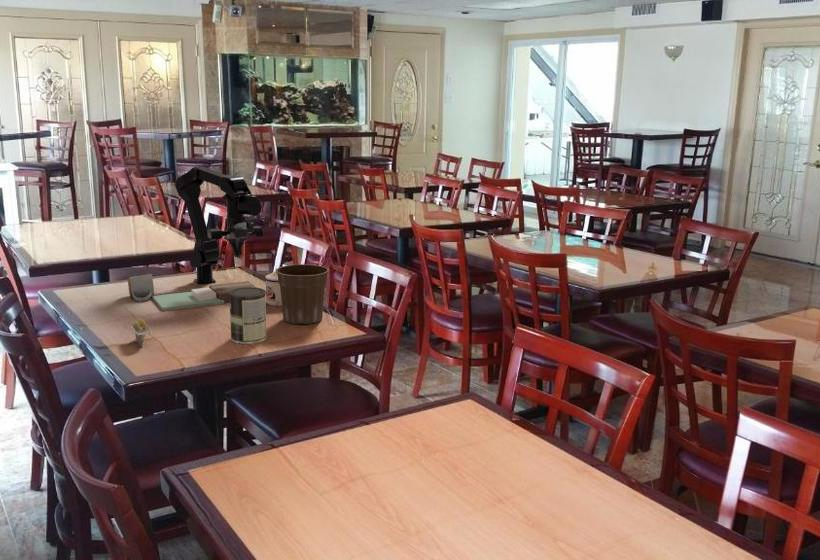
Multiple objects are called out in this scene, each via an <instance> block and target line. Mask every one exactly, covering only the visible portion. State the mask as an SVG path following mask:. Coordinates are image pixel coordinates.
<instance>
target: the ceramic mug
mask: <svg viewBox="0 0 820 560" xmlns="http://www.w3.org/2000/svg"><path fill="white" fill-rule="evenodd" d="M153 280H154V279H153V274H152V273H148V274H141V275H133V276H131V277H127V286H128V293H129V297H131V298H133V299H134V300H135V301H137V302H146V301H149V300H150V299H152V298H151V297H152V296H155V286H154V281H153Z"/></svg>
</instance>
